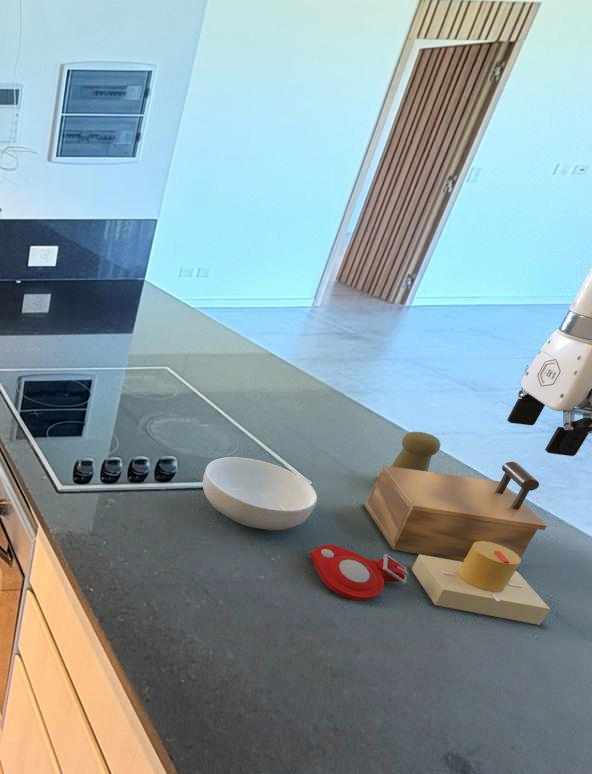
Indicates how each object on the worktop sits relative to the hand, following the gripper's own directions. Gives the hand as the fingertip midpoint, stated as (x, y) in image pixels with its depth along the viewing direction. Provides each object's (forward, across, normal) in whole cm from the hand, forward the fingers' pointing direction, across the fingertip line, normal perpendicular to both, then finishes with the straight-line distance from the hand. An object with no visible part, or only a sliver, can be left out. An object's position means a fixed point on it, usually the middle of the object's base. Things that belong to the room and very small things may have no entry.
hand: (538, 437), depth 92 cm
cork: (+20, -16, -5) cm, 26 cm away
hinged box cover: (+12, 0, -6) cm, 13 cm away
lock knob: (+17, +15, -7) cm, 24 cm away
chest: (+20, 0, -6) cm, 21 cm away
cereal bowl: (+20, +3, -34) cm, 40 cm away
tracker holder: (+20, +17, -22) cm, 34 cm away
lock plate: (+20, +15, -7) cm, 26 cm away
